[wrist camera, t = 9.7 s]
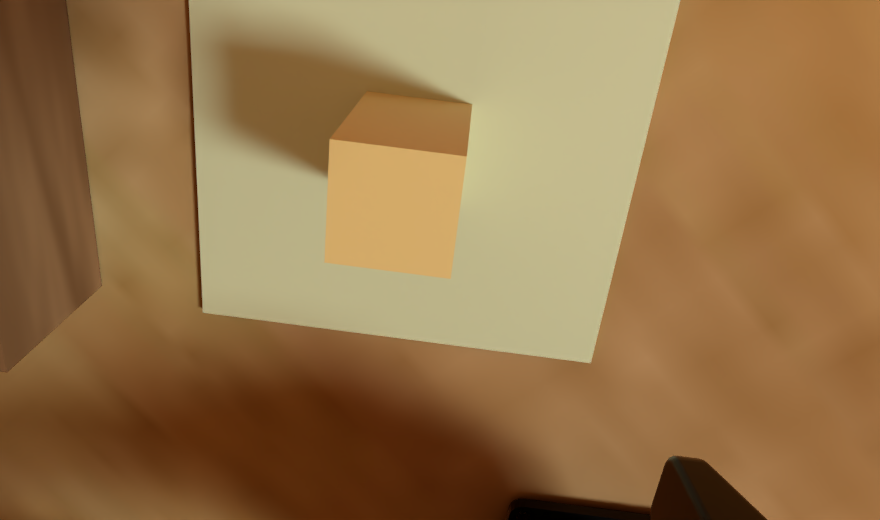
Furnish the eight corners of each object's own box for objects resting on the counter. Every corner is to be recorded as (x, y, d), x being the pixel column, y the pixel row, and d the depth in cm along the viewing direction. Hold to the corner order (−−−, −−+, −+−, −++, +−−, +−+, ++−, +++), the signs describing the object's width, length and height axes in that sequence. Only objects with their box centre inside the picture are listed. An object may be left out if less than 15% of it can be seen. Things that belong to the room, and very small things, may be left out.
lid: (689, -70, 18) (771, -70, 13) (587, 349, 24) (615, 469, 18) (194, -130, 18) (74, -155, 13) (211, 301, 24) (132, 405, 18)
